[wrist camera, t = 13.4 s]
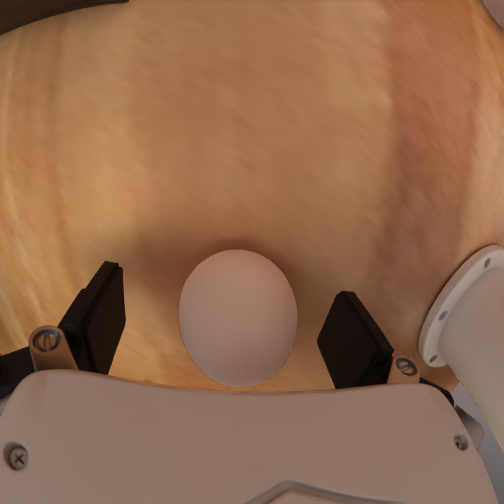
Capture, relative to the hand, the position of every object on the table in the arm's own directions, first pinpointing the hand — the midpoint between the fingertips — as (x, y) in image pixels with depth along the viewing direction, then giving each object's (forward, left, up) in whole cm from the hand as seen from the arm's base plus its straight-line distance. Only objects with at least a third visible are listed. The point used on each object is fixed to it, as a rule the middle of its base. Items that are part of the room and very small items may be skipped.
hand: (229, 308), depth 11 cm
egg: (0, 0, -3) cm, 3 cm away
